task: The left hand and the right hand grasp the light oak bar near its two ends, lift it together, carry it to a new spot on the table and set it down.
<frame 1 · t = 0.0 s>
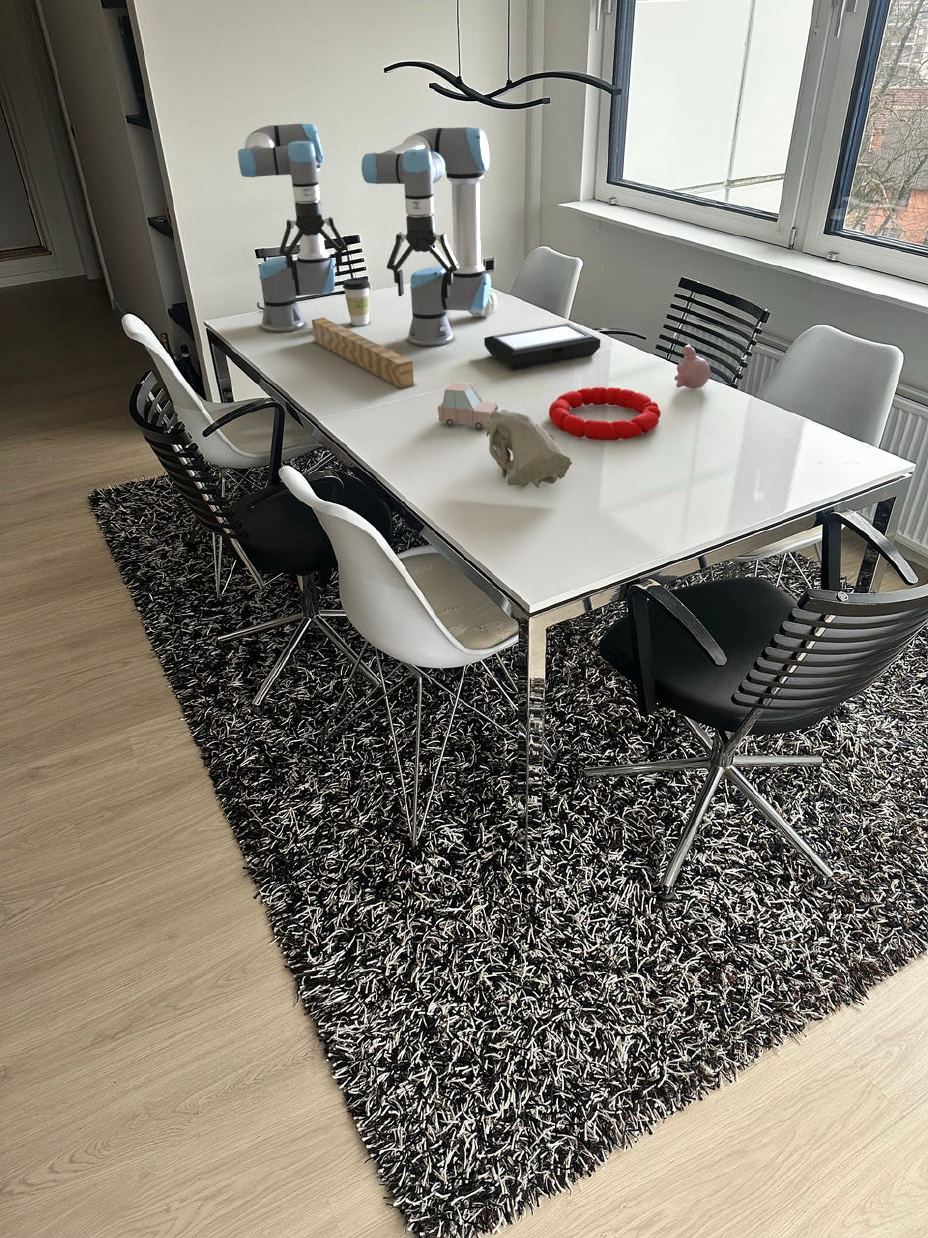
left hand: (316, 276, 273), 28 cm above the table, tool pointing down, fingers open, 13 cm apart
right hand: (424, 295, 251), 28 cm above the table, tool pointing down, fingers open, 13 cm apart
decorative ring: (603, 422, 244), on the table
figurine: (690, 388, 263), on the table
toy car: (468, 423, 246), on the table
electronic device: (541, 355, 291), on the table
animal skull: (520, 470, 220), on the table
coffee cup: (360, 323, 327), on the table
bar: (360, 361, 292), on the table
seashell: (482, 316, 330), on the table
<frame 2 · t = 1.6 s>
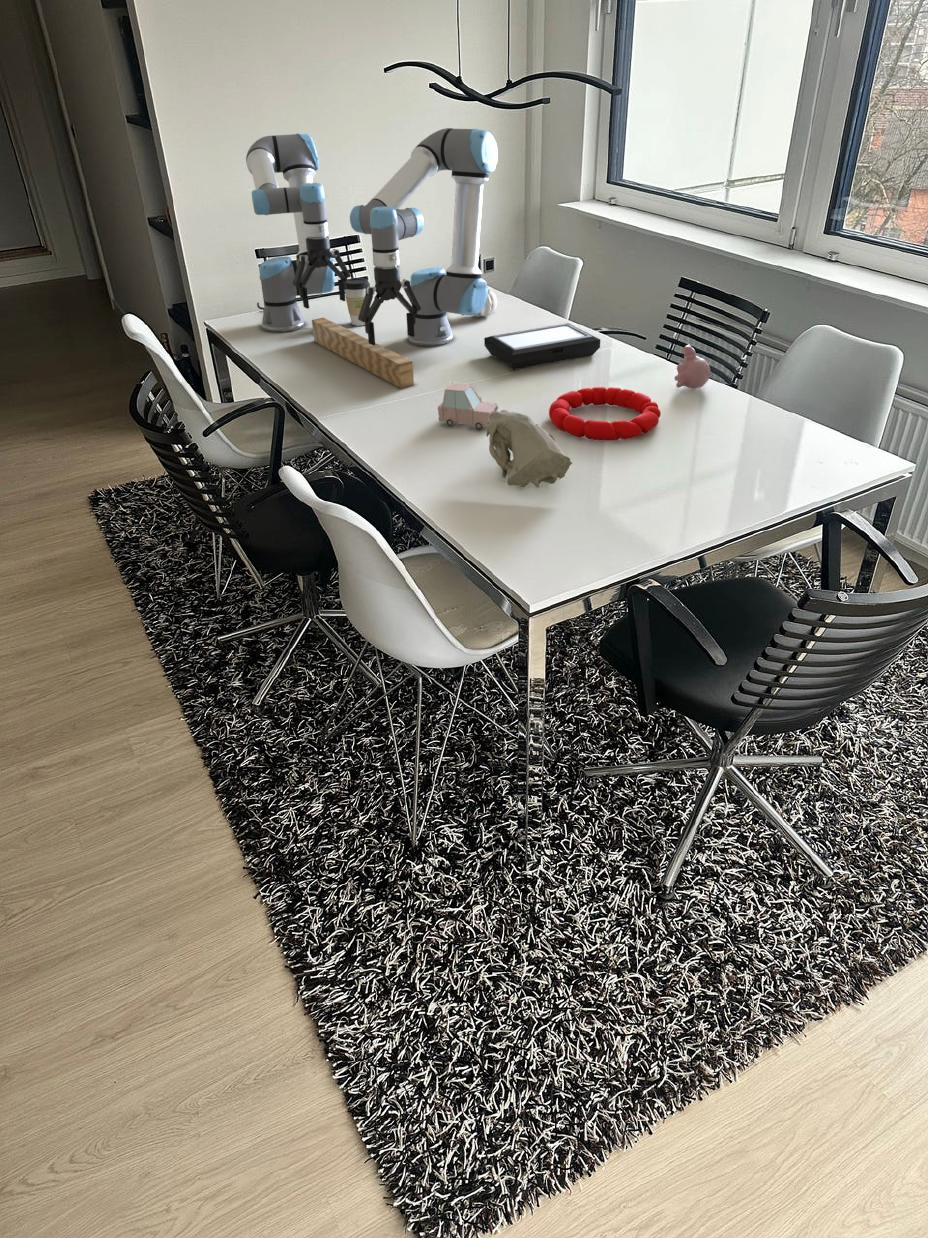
left hand: (324, 303, 299), 14 cm above the table, tool pointing down, fingers open, 13 cm apart
right hand: (391, 339, 269), 13 cm above the table, tool pointing down, fingers open, 13 cm apart
nothing on the table moved.
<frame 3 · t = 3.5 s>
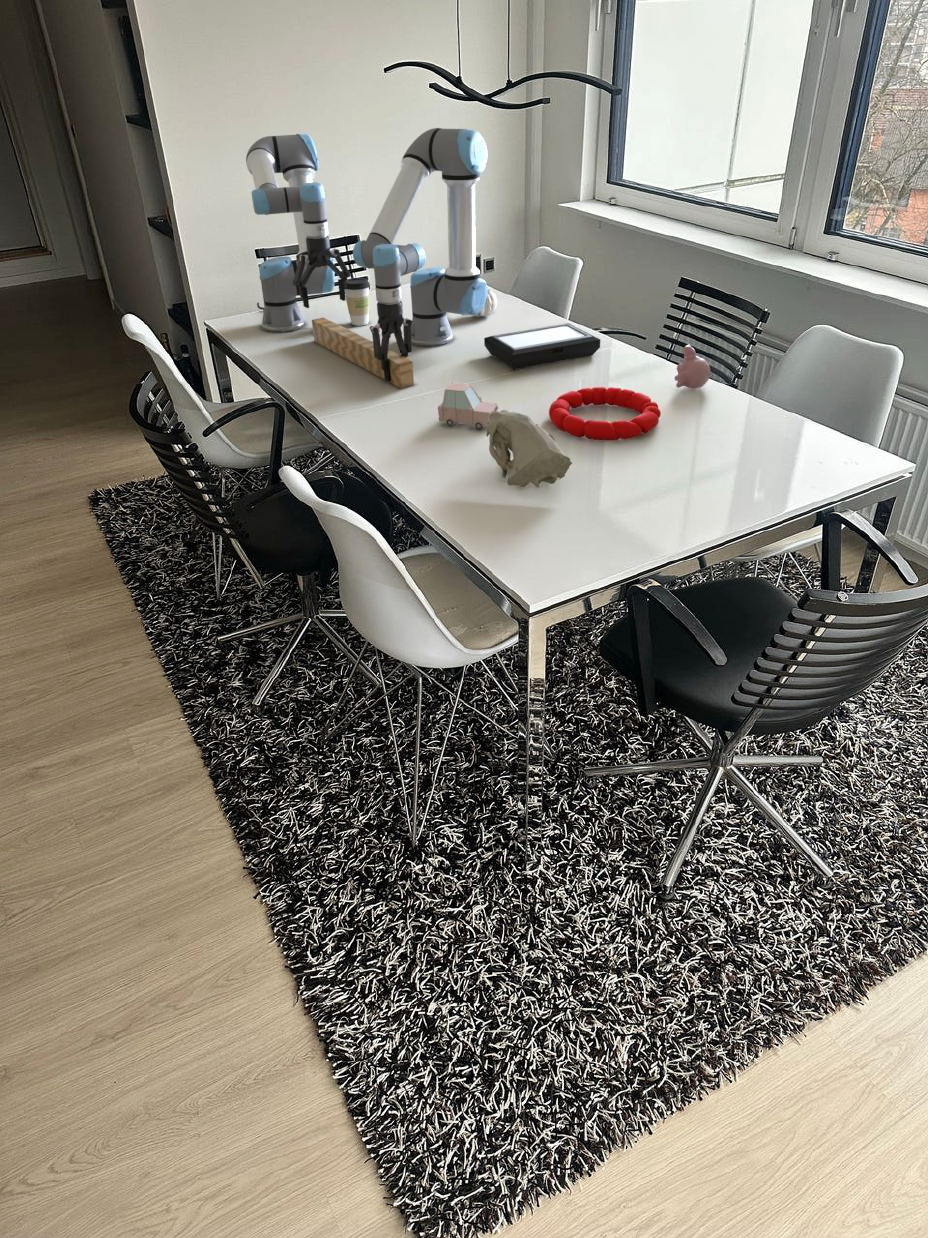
left hand: (324, 303, 299), 14 cm above the table, tool pointing down, fingers open, 13 cm apart
right hand: (395, 378, 276), 1 cm above the table, tool pointing down, fingers closed on bar, 5 cm apart
bar: (360, 361, 292), on the table, touching right hand
everything else where it was.
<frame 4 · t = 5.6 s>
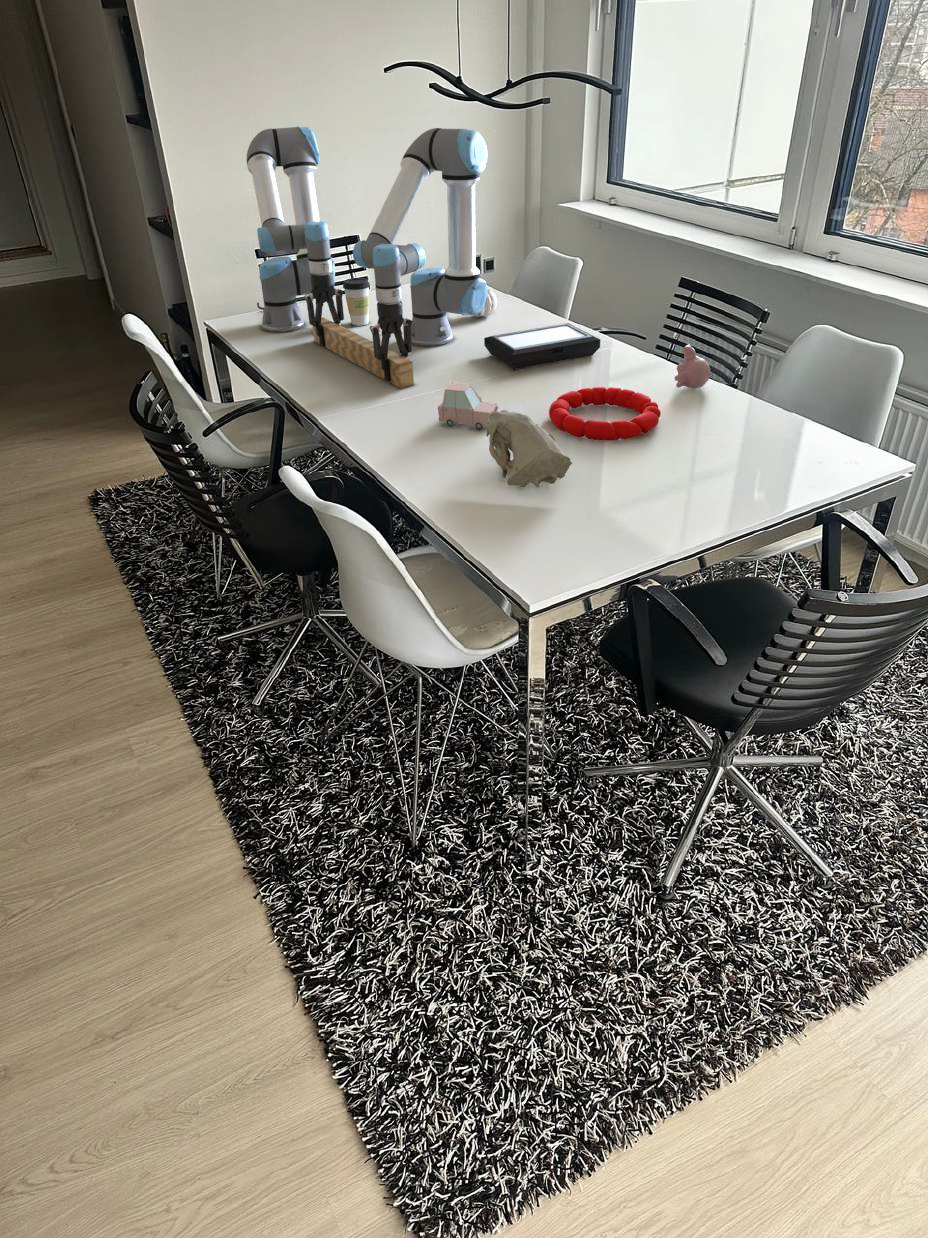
left hand: (329, 343, 307), 1 cm above the table, tool pointing down, fingers closed on bar, 5 cm apart
right hand: (395, 378, 276), 1 cm above the table, tool pointing down, fingers closed on bar, 5 cm apart
bar: (360, 361, 292), on the table, touching left hand, right hand
everything else where it was.
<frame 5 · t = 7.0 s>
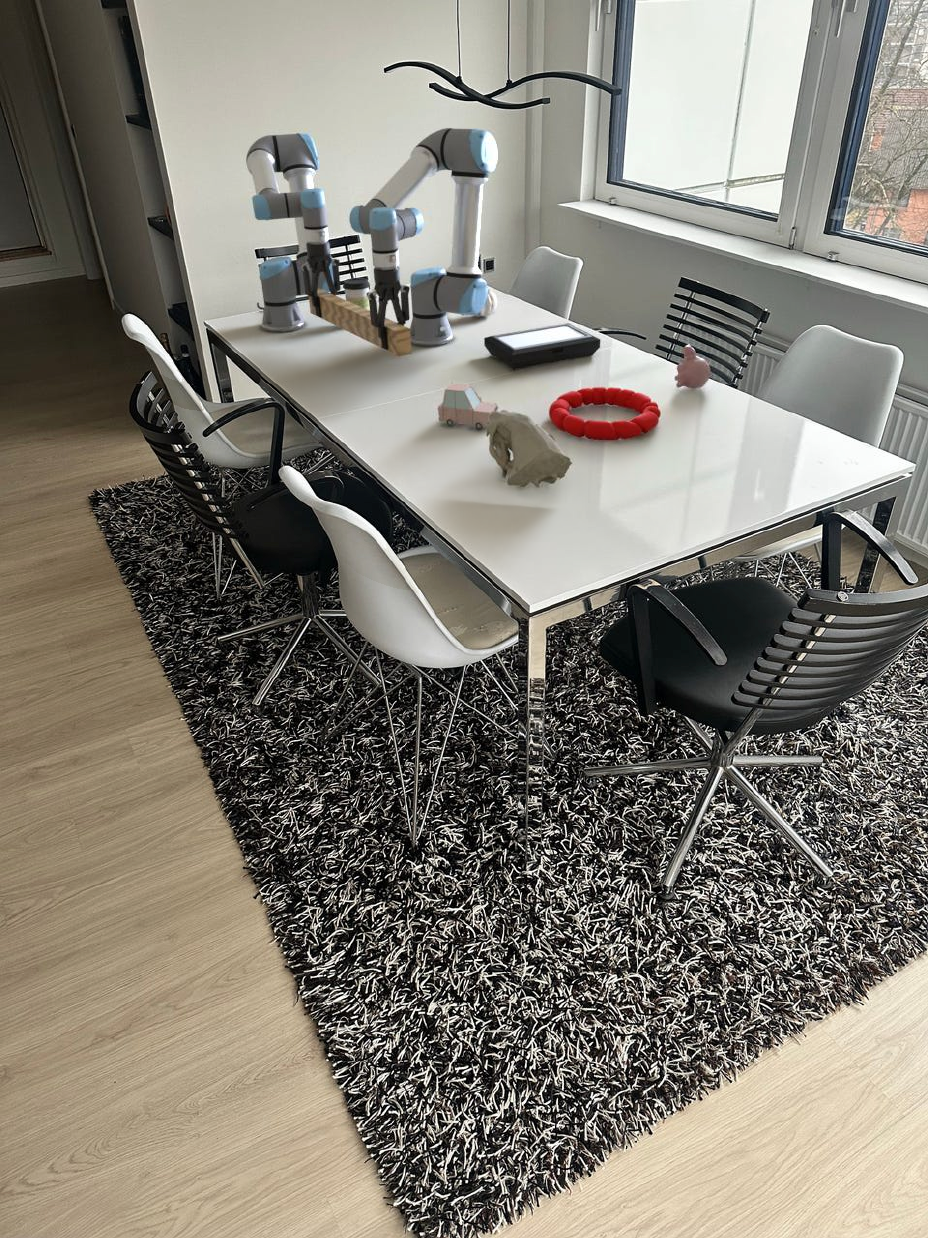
left hand: (325, 314, 301), 10 cm above the table, tool pointing down, fingers closed on bar, 5 cm apart
right hand: (392, 346, 270), 10 cm above the table, tool pointing down, fingers closed on bar, 4 cm apart
bar: (357, 331, 286), point 10 cm above the table, touching left hand, right hand
everything else where it was.
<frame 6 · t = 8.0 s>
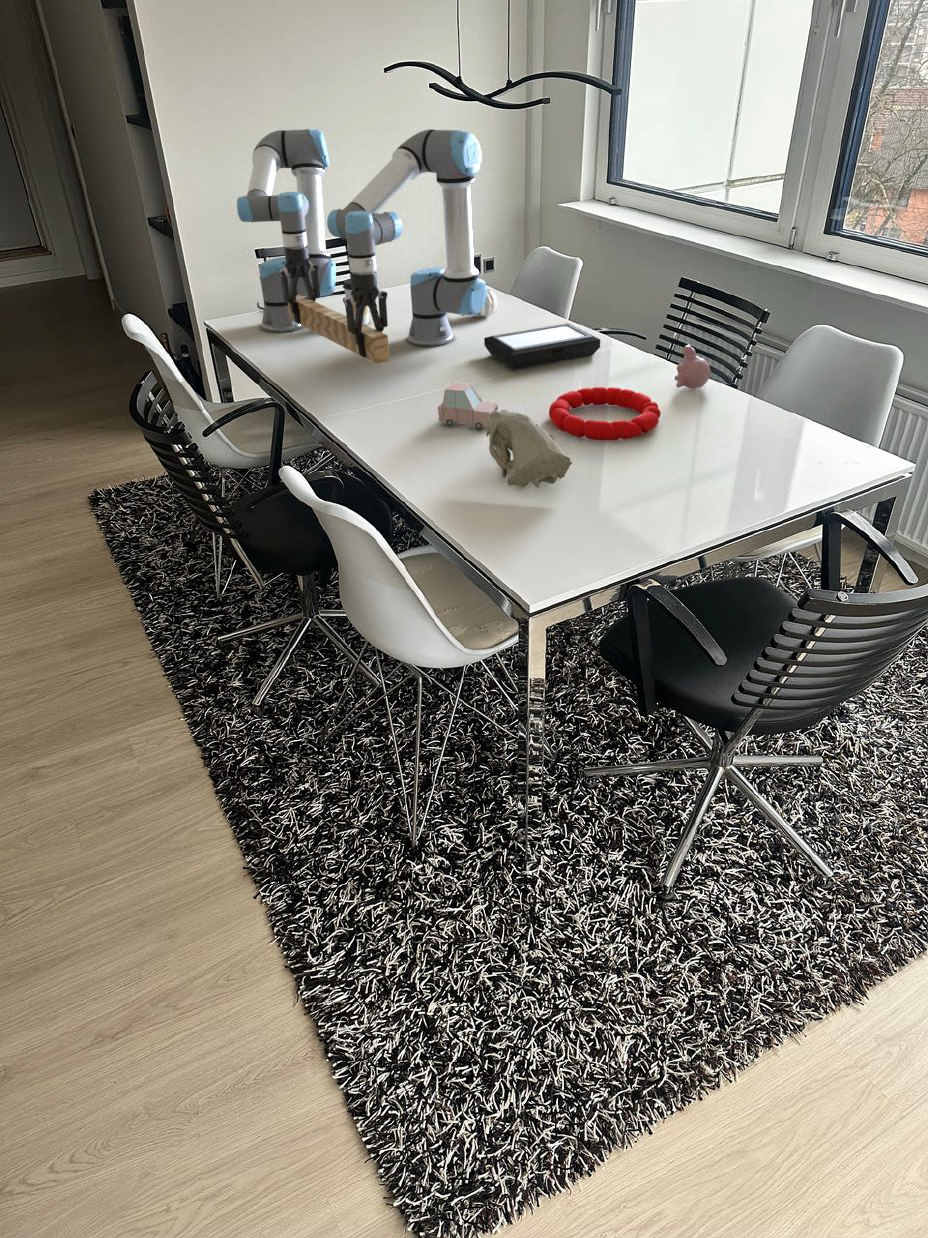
left hand: (305, 320, 295), 11 cm above the table, tool pointing down, fingers closed on bar, 5 cm apart
right hand: (370, 353, 264), 11 cm above the table, tool pointing down, fingers closed on bar, 5 cm apart
bar: (336, 338, 280), point 10 cm above the table, touching left hand, right hand
everything else where it was.
when the left hand's fingers open (2 cm above the table, at t = 10.7 s): bar drops 1 cm, on the table.
when the right hand's fingers open (2 cm above the table, at t = 10.7 s): bar drops 1 cm, on the table.
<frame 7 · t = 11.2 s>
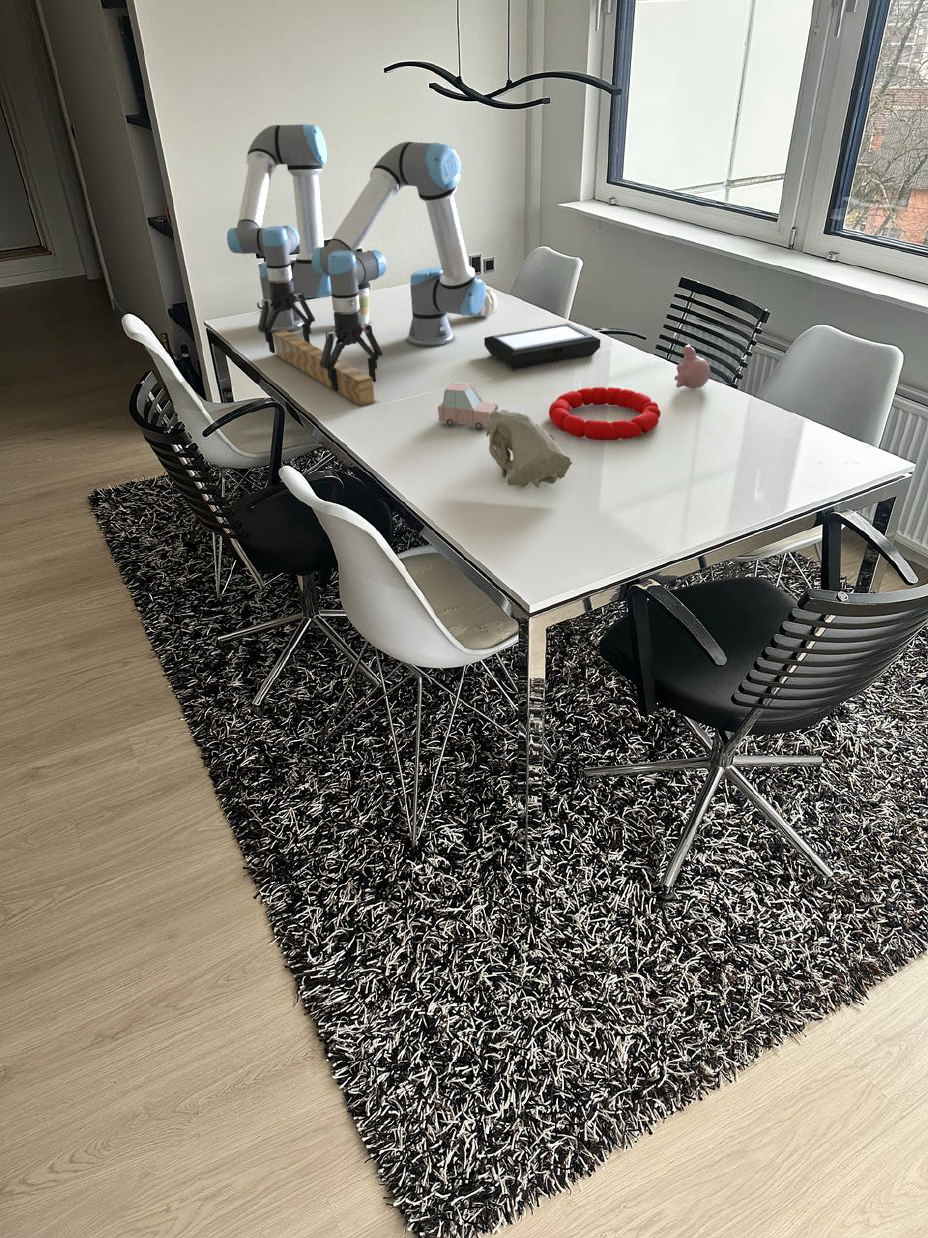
left hand: (290, 348, 294), 4 cm above the table, tool pointing down, fingers open, 12 cm apart
right hand: (354, 385, 263), 4 cm above the table, tool pointing down, fingers open, 12 cm apart
bar: (322, 376, 280), on the table
everything else where it was.
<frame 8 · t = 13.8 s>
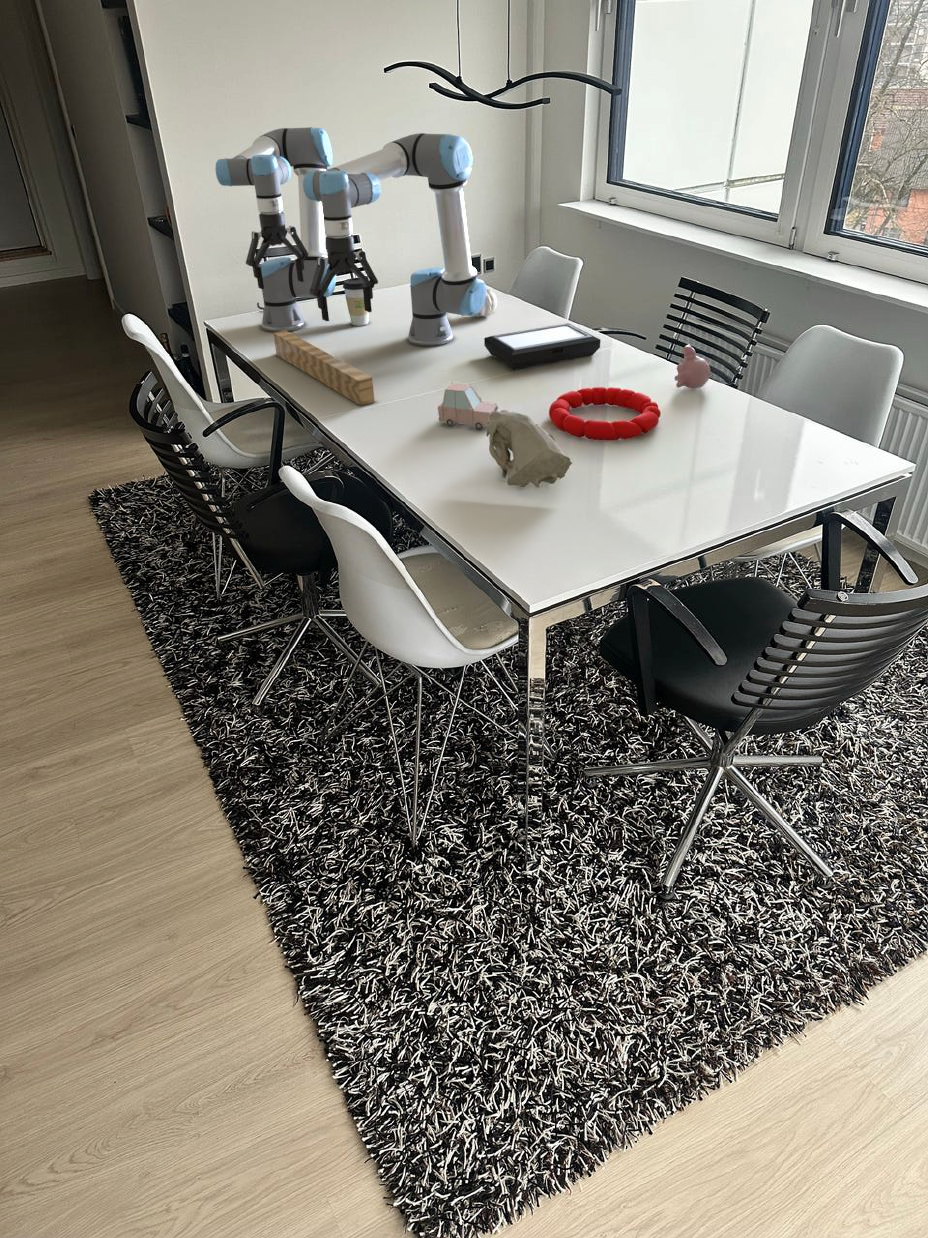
left hand: (281, 284, 282), 24 cm above the table, tool pointing down, fingers open, 13 cm apart
right hand: (347, 315, 251), 24 cm above the table, tool pointing down, fingers open, 13 cm apart
nothing on the table moved.
at the end: bar inside the target area (0.1 cm from its centre), on the table; bar tilted 0°; bar never tilted more than 1° during the clip; both hands held the bar at the same time; the left hand is holding nothing; the right hand is holding nothing; bar at rest at the end (0.0 cm/s) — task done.
